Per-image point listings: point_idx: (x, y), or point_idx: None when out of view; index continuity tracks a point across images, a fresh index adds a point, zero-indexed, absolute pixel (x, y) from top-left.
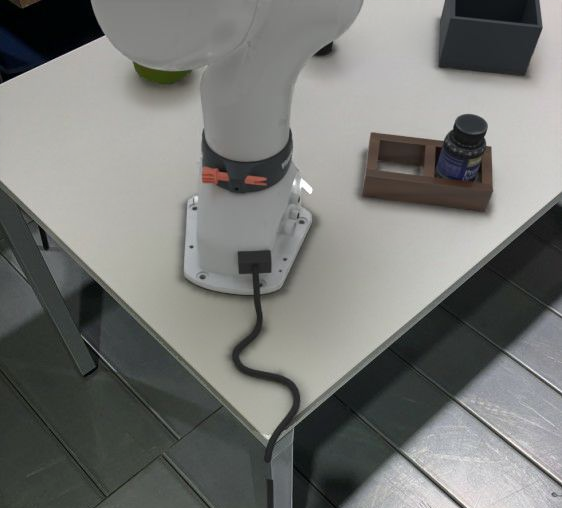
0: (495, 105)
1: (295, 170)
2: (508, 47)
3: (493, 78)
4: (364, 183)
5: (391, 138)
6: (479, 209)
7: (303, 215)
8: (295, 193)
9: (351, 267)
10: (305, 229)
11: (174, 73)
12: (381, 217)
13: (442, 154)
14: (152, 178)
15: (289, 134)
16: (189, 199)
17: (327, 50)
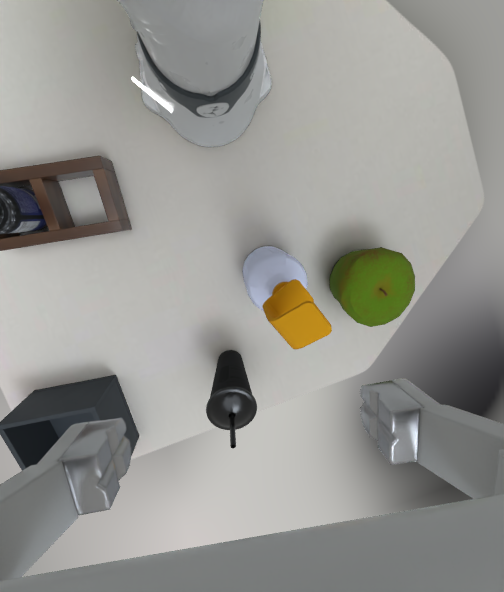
0: (42, 341)
1: (145, 66)
2: (40, 403)
3: (60, 377)
4: (104, 158)
5: (98, 227)
6: None
7: (150, 97)
8: (142, 53)
9: (78, 42)
10: (140, 75)
11: (343, 259)
12: (80, 135)
13: (20, 198)
14: (318, 117)
15: (143, 44)
16: (270, 83)
17: (220, 356)
